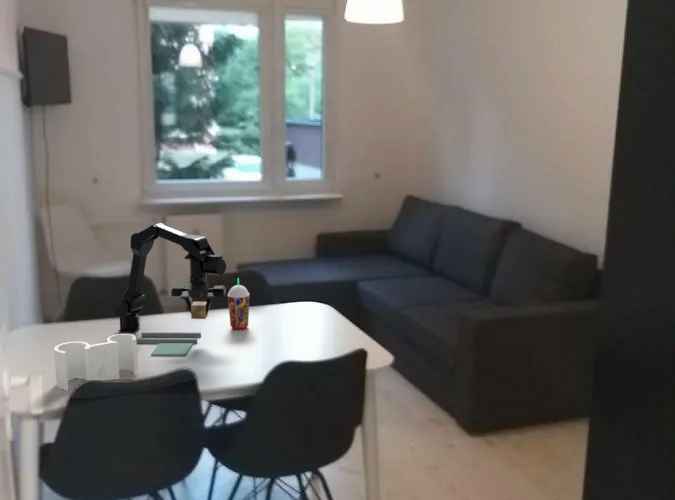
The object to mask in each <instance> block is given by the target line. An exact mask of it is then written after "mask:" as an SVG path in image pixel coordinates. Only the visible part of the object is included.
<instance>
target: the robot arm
mask: <svg viewBox="0 0 675 500" xmlns="http://www.w3.org/2000/svg"><path fill="white" fill-rule="evenodd" d="M158 238H161V239H164V240H167V241H168V242H172V243H174V244H176V245H179V246H180V247H181V248H182V249H183V250H184V251H185V252H186V253H187V254H186V255H185V256H184V260H189V278H190V279H189V282H188V287H186V286H185V285H183V284H181V285H179V284H177V285H176V284H175V285H174V286H172V288H171V291H170V292H171V293H170V295H171V297H180V299H183V300H184V301H185V303H186V305H187V306H188V310H189V313H191V305H192V303H193V297H194V298H201V297H203V294H207V296H206V302H207V304H206V314H208V313H209V311H210V309H211V308H210V307H211V304H212V302H213V300H215V299H216V298H220V297H221V298H223V297H225V295H226V293H227V288H226V286H225V285H214V286H213V287H212V288H209V283H208V282H207V281H208V280H207V274H210V275H216V276H223V275H224V274H225V272H226V270H227V263H226V261H225V260H224V258H223V256H222V255H220V254H219V255H216V253H215V252H214V250H213V249H212V246H211V245H210V244H209V241H208V238H207V237H206V236H202V235H197V234H187V233H185V232H183V231H180V230H178V229H175V228H173V227H170V226H167V225H165V224H164V223H162V222H159V223H153V224H151V225H150V226H148V227H147V228H145V229H143V230H141V231H139V232H134V233H133V234H131V236H130V249H131V251H132V259H131V267H130V272H129V280H128V286H127V289H126V291H125V292H124V293H123V294H122V297H121V300H120V304H119V305H118V306H117V308H116V309H115V310H114V313H115V316H116V317H119V330H118V332H119V331H122V332H121V333H136V332H137V331H138V330H139V329H140V328H141V323H140V322H141V319H140V317H139V313H141V312H142V309H143V307H144V306H145V305H146V298H147V295H146V294H144V293H143V291H142V288H143V287H142V286H143V281H144V274H145V269H146V264H147V257H148V254H149V253H150V252H151V250H152V249H153V246H154V243H155V240H157V239H158ZM139 327H140V328H139ZM137 329H138V330H137ZM135 331H136V332H135Z"/></svg>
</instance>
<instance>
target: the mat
mask: <svg viewBox="0 0 675 500" xmlns="http://www.w3.org/2000/svg"><path fill="white" fill-rule="evenodd" d="M193 345H194V343H158V345H157V346H156V347H155V348H154V350H153V351H152V352H151V354H150V356H151V357H187V355H188V353H189V352H190V350H191V349H192V347H193Z"/></svg>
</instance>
